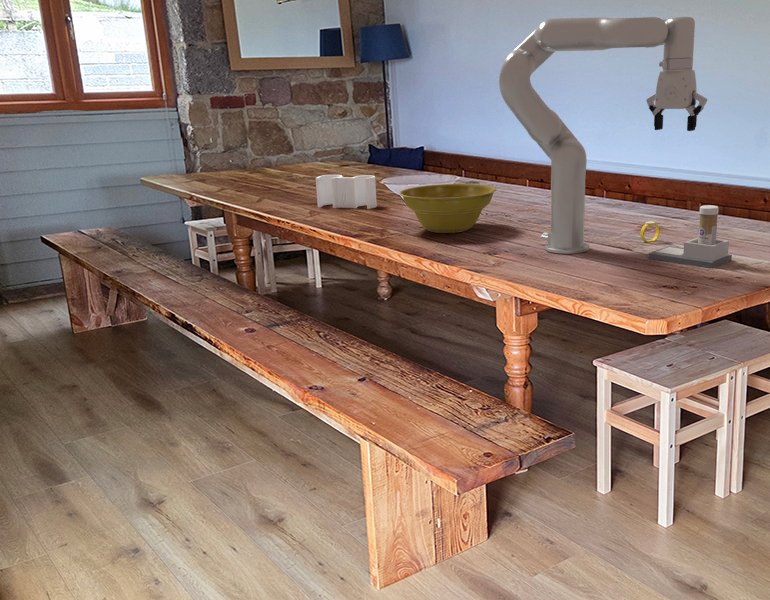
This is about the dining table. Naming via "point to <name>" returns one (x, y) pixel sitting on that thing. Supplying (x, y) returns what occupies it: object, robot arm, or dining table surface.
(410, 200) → the planter bowl
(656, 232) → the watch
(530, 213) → the dining table surface
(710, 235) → the sprinkles bottle
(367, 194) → the bracket
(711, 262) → the grey tray with box
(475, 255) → the dining table surface
